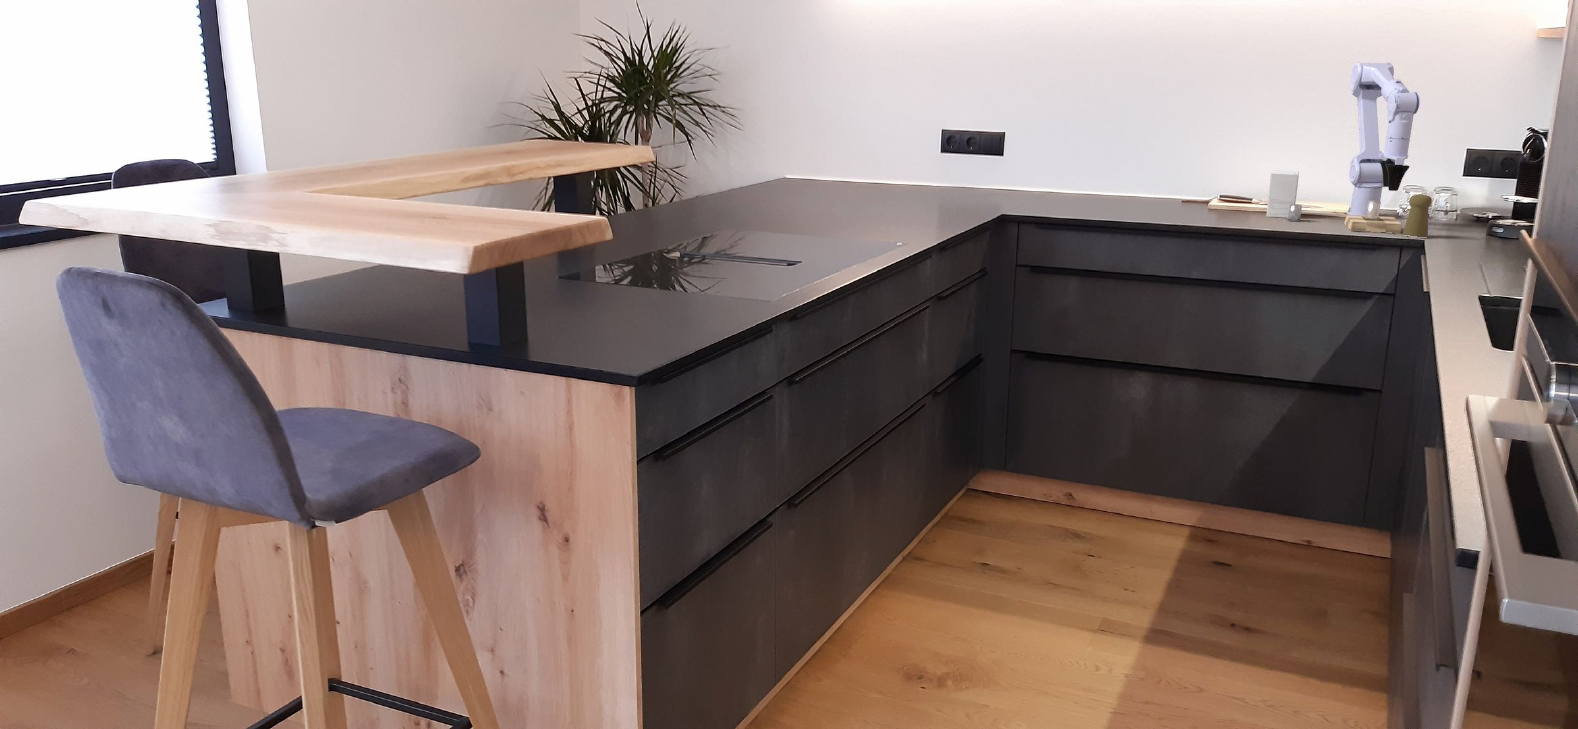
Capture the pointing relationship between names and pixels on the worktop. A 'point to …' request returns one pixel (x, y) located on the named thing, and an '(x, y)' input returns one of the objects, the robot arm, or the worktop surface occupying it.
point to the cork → (1418, 216)
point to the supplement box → (1282, 193)
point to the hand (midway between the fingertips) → (1390, 188)
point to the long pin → (1372, 210)
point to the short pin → (1294, 213)
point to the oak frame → (1372, 224)
